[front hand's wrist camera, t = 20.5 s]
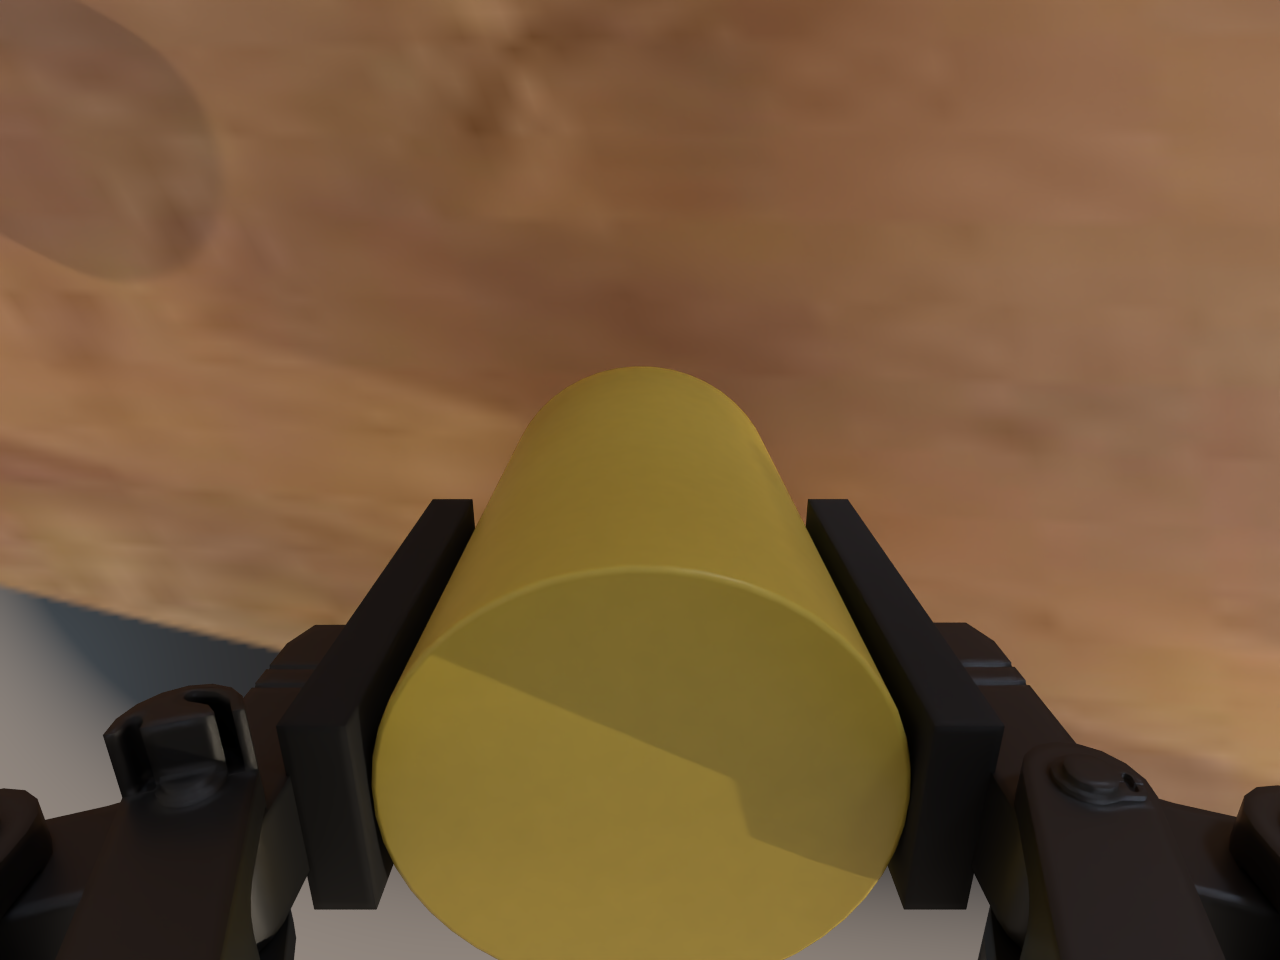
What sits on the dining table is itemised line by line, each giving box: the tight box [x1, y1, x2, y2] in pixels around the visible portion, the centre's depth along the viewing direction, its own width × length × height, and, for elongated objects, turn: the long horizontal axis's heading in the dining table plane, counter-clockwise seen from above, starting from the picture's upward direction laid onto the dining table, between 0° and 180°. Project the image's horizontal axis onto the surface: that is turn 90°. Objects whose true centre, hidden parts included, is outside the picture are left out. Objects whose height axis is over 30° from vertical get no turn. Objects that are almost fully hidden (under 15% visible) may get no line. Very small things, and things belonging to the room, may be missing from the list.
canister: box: [371, 366, 911, 960], centre depth 13 cm, size 6×6×10 cm
